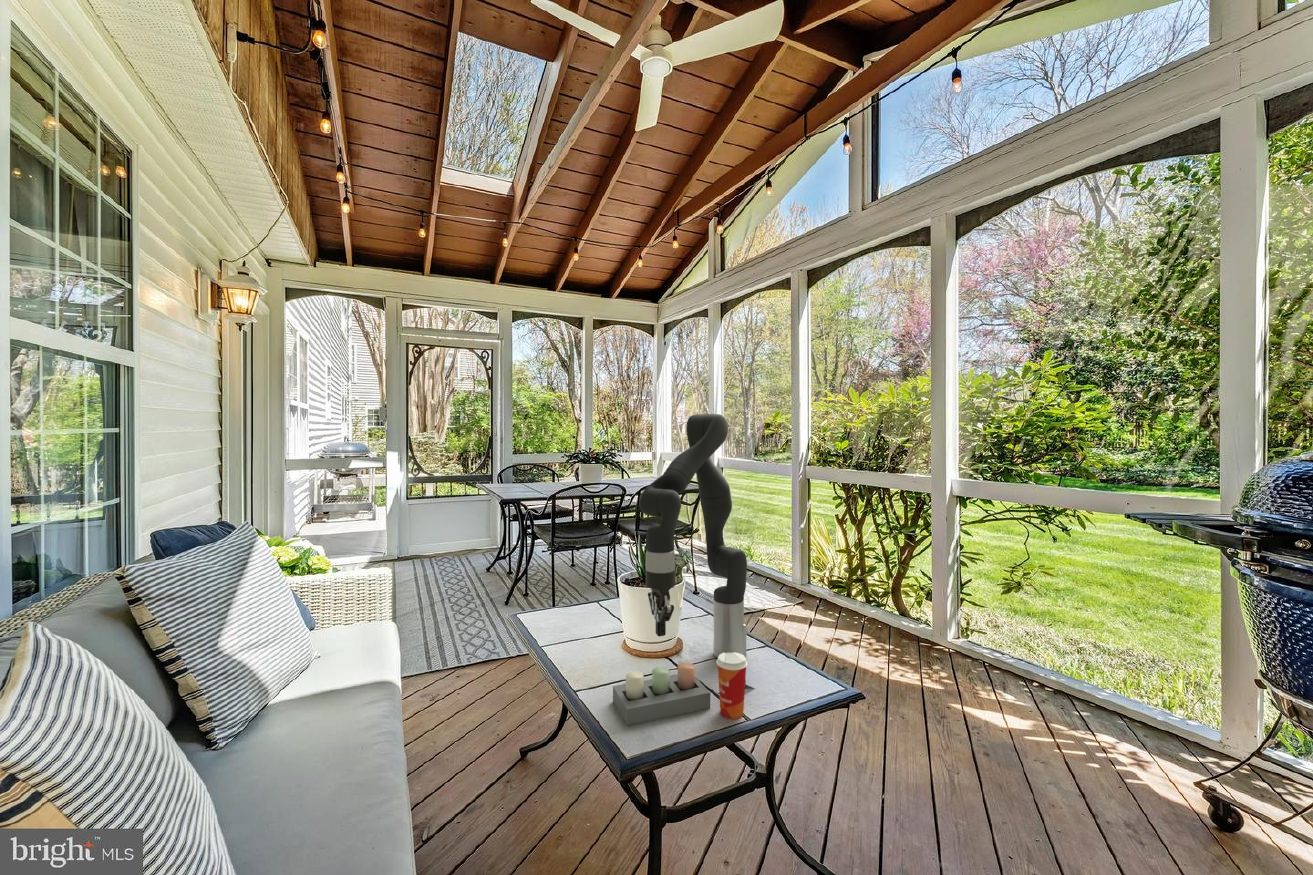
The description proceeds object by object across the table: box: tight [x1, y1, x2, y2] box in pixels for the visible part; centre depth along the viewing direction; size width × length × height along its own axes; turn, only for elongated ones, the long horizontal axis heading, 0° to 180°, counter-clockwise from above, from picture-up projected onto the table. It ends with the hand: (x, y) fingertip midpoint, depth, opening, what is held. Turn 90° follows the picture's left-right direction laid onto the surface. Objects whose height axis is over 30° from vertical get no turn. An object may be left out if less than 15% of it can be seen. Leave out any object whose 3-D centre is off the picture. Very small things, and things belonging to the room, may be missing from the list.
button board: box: [612, 673, 711, 727], centre depth 142 cm, size 22×12×4 cm, turn 111°
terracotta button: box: [677, 662, 696, 690], centre depth 144 cm, size 4×4×5 cm
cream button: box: [625, 671, 644, 700], centre depth 139 cm, size 4×4×5 cm
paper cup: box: [716, 652, 748, 720], centre depth 138 cm, size 8×8×14 cm
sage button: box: [651, 666, 671, 695], centre depth 142 cm, size 4×4×5 cm
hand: (660, 634), depth 141 cm, fingers closed
